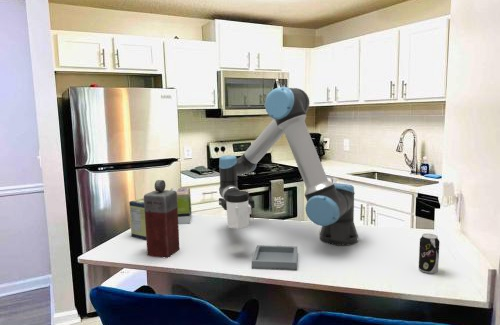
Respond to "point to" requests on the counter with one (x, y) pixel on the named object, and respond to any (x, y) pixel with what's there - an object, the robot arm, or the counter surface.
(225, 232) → the counter surface
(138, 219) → the protein box
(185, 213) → the tea box
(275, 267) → the tray
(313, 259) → the counter surface
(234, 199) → the jar
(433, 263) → the beverage can
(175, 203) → the red square bottle
